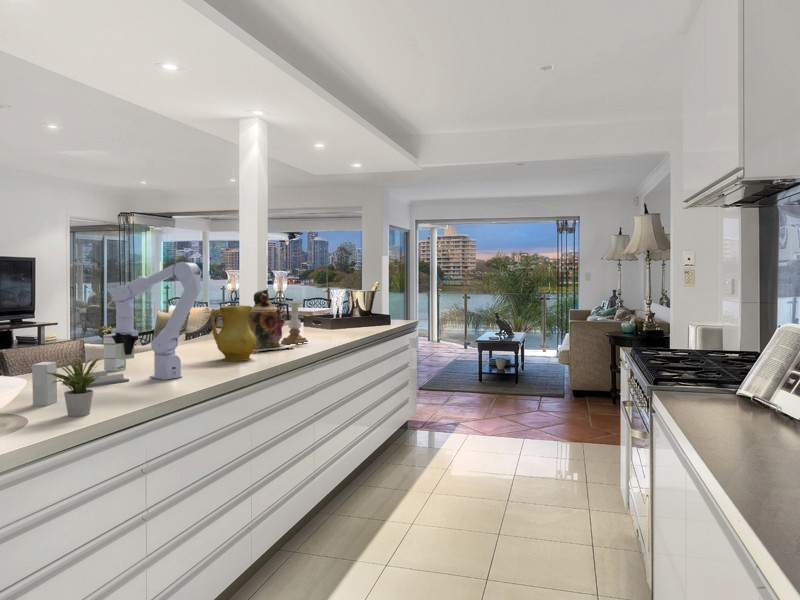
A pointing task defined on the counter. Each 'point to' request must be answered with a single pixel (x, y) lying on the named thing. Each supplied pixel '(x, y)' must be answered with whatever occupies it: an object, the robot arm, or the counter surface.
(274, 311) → the cookie jar
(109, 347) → the syrup box
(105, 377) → the rail board
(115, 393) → the counter surface
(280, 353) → the counter surface
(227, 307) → the pitcher
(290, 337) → the candle holder
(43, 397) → the skincare box
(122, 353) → the block
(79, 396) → the house plant
